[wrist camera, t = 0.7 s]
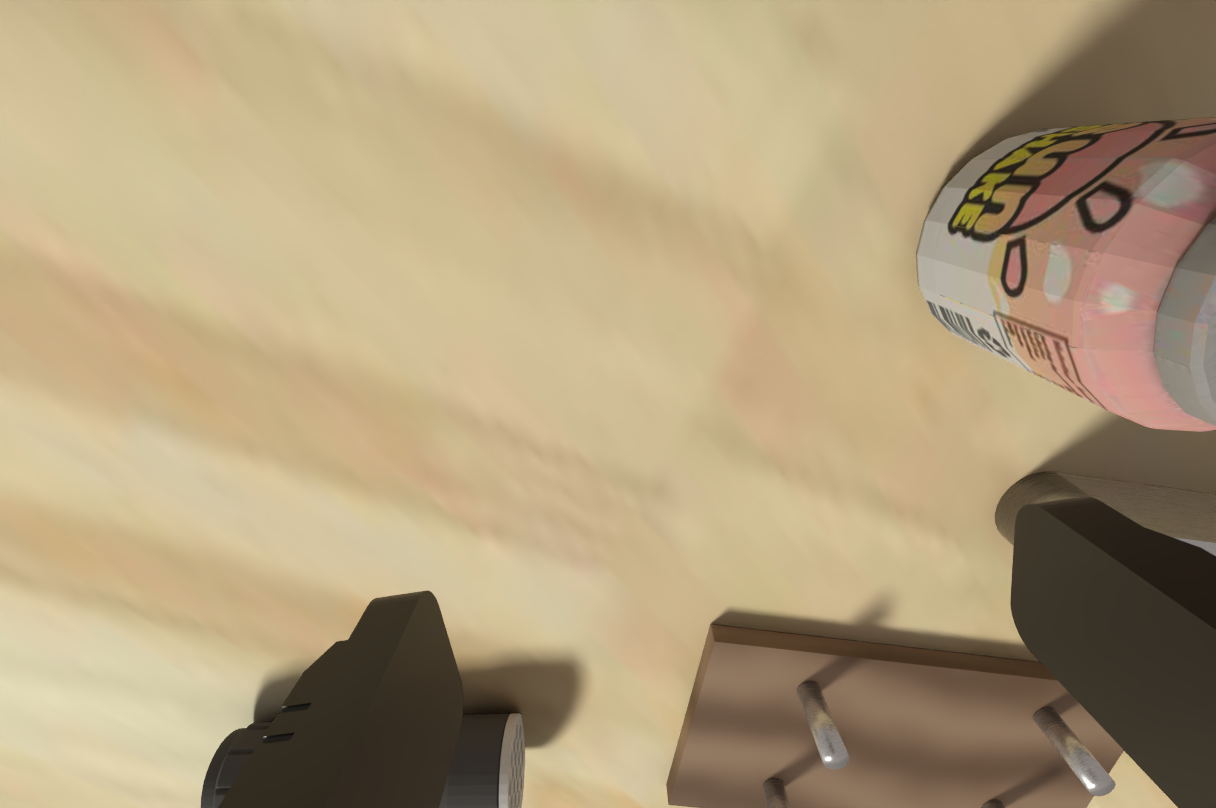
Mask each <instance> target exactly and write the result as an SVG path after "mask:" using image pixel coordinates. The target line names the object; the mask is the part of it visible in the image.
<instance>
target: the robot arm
mask: <svg viewBox="0 0 1216 808" xmlns="http://www.w3.org/2000/svg"><path fill="white" fill-rule="evenodd" d="M1011 611H1012V616H1013V619H1014V623H1015V625H1016V628H1017V630H1018V633H1019V635H1020V637H1021V638H1022V640H1023V642H1024V643H1025V645H1026V646H1027V648H1028V649H1029V650H1030V651H1031V653H1032V654H1033V655H1034V656H1035V657H1036V658H1037V659H1038V660H1039V661H1040V662H1041V663H1042V664H1043V665H1044V666H1045V668H1046V669H1047V670H1048V671H1049V672H1050V673H1051V674H1052V675H1053V676H1054V677H1055V678H1056V679H1057V680H1058V681H1059V682H1060V683H1061V684H1062V685H1063V687H1064V688H1065V689H1066V690H1067V691H1068V692H1069V693H1070V694H1071V695H1072V696H1073V697H1074V698H1075V699H1076V700H1077V701H1078V702H1079V703H1080V704H1081V706H1082V707H1083V708H1084V709H1085V710H1086V711H1087V712H1088V713H1089V714H1090V715H1091V716H1092V717H1093V718H1094V719H1095V720H1096V721H1097V722H1098V723H1099V724H1100V726H1101V727H1102V728H1103V729H1104V730H1105V731H1106V732H1107V733H1108V734H1109V735H1110V736H1111V737H1112V738H1113V739H1114V740H1115V741H1116V742H1117V743H1118V745H1119V746H1120V747H1121V748H1122V749H1123V750H1124V751H1125V752H1126V753H1127V754H1128V755H1129V756H1130V757H1131V758H1132V759H1133V760H1134V761H1135V762H1136V764H1137V765H1138V766H1139V767H1140V768H1141V769H1142V770H1143V771H1144V772H1145V773H1146V774H1147V775H1148V776H1149V777H1150V778H1151V779H1152V780H1153V781H1154V783H1155V784H1156V785H1157V786H1158V787H1159V788H1160V789H1161V790H1162V791H1163V792H1164V793H1165V794H1166V795H1167V796H1168V797H1169V798H1170V799H1171V800H1172V802H1173V803H1174V804H1175V805H1176V806H1177V807H1178V808H1216V556H1214V555H1213V554H1211V553H1209V552H1208V551H1206V550H1204V549H1202V548H1201V547H1198V546H1195V545H1192V544H1190V543H1187V542H1184V541H1181V540H1178V539H1176V538H1173V537H1170V536H1167V535H1165V534H1162V533H1159V532H1156V531H1153V530H1151V529H1148V528H1144V527H1143V526H1141V525H1139V524H1138V523H1136V522H1134V521H1133V520H1131V519H1130V518H1128V517H1126V516H1125V515H1123V514H1121V513H1120V512H1118V511H1116V510H1115V509H1113V508H1111V507H1110V506H1108V505H1106V504H1105V503H1103V502H1101V501H1100V500H1098V499H1096V498H1093V497H1088V496H1083V497H1076V498H1069V499H1062V500H1056V501H1049V502H1042V503H1035V504H1029V505H1025V506H1023V507H1022V508H1021V509H1020V510H1019V512H1018V513H1017V516H1016V521H1015V534H1014V551H1013V568H1012V586H1011ZM462 715H463V691H462V683H461V678H460V675H459V671H458V668H457V665H456V661H455V658H454V655H453V651H452V648H451V645H450V641H449V638H448V635H447V631H446V628H445V625H444V621H443V618H442V615H441V611H440V608H439V605H438V602H437V600H436V598H435V596H434V595H433V593H432V592H430V591H422V592H415V593H408V594H401V595H394V596H387V597H381V598H375V599H373V600H372V601H371V602H370V604H369V605H368V607H367V608H366V610H365V612H364V613H363V615H362V617H361V619H360V620H359V622H358V624H357V626H356V627H355V629H354V631H353V632H352V634H351V636H350V638H349V639H348V640H345V641H338V642H336V643H335V644H334V645H333V646H331V647H330V648H329V649H328V650H327V651H326V652H325V653H324V654H323V655H322V656H321V657H320V658H319V659H317V660H316V661H315V662H314V663H313V664H312V665H311V666H310V667H309V668H308V669H307V670H306V671H305V672H304V673H303V674H302V676H301V677H300V679H299V680H298V682H297V684H296V685H295V687H294V688H293V690H292V691H291V693H290V695H289V696H288V698H287V699H286V701H285V703H284V704H283V706H282V713H280V714H277V715H276V717H275V718H274V720H273V721H272V723H271V725H270V726H269V728H268V729H267V731H266V733H265V734H264V736H263V743H262V744H259V745H257V747H256V748H255V750H254V751H253V753H252V755H251V756H250V758H249V759H248V761H247V763H246V764H245V766H244V767H243V769H242V770H241V772H240V774H239V775H238V777H237V778H236V780H235V781H234V783H233V785H232V786H231V788H230V789H229V791H228V793H227V794H226V796H225V797H224V799H223V800H222V802H221V804H220V805H219V807H218V808H439V806H440V802H441V799H442V795H443V791H444V787H445V784H446V780H447V776H448V773H449V769H450V765H451V761H452V758H453V754H454V750H455V747H456V743H457V739H458V735H459V732H460V728H461V723H462Z"/></svg>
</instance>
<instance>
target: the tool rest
mask: <svg viewBox="0 0 1216 808" xmlns="http://www.w3.org/2000/svg"><path fill="white" fill-rule="evenodd" d="M1123 751H1124V750H1123V749H1122V748H1121V747H1120V746H1119V745H1118V743H1117V742H1116V741H1115V740H1114V739H1113V738H1112V737H1111V736H1110V735H1109V734H1108V733H1107V732H1106V731H1105V730H1104V729H1103V728H1102V727H1101V726H1100V724H1099V723H1098V722H1097V721H1096V720H1095V719H1094V718H1093V717H1092V716H1091V715H1090V714H1089V713H1088V712H1087V711H1086V710H1085V709H1084V708H1083V707H1082V706H1081V704H1080V703H1079V702H1078V701H1077V700H1076V699H1075V698H1074V697H1073V696H1072V695H1071V694H1070V693H1069V692H1068V691H1067V690H1066V689H1065V688H1064V687H1063V685H1062V684H1061V683H1060V682H1059V681H1058V680H1057V679H1056V678H1055V677H1054V676H1053V675H1052V674H1051V673H1050V672H1049V671H1048V670H1047V669H1046V668H1045V666H1044V665H1043V664H1042V663H1040V662H1031V661H1023V660H1014V659H1005V658H997V657H988V656H979V655H971V654H962V653H954V652H945V651H936V650H928V649H919V648H910V647H902V646H893V645H884V644H876V643H867V642H858V641H850V640H841V639H832V638H824V637H815V636H807V635H798V634H789V633H781V632H772V631H763V630H755V629H746V628H737V627H729V626H720V625H711V624H710V628H709V632H708V635H707V639H706V643H705V646H704V650H703V654H702V657H701V661H700V664H699V668H698V672H697V675H696V679H695V683H694V686H693V690H692V694H691V697H690V701H689V704H688V708H687V712H686V715H685V719H684V723H683V726H682V730H681V734H680V737H679V741H678V744H677V748H676V752H675V755H674V759H673V763H672V766H671V770H670V774H669V777H668V781H667V784H666V785H667V794H668V804H669V805H677V806H687V807H698V808H1086V807H1087V806H1088V804H1089V803H1090V801H1091V800H1092V798H1093V797H1094V796H1102V795H1106V794H1108V793H1110V792H1111V791H1112V790H1113V789H1114V787H1115V782H1114V780H1113V779H1112V778H1111V777H1110V776H1109V772H1110V771H1111V769H1112V768H1113V766H1114V765H1115V763H1116V762H1117V760H1118V759H1119V757H1120V756H1121V754H1122V753H1123Z"/></svg>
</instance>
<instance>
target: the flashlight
mask: <svg viewBox="0 0 1216 808" xmlns="http://www.w3.org/2000/svg"><path fill="white" fill-rule="evenodd" d="M271 723H272V722H256V723H253V724H251V725H249V726H248V727H247V728H242V729H238V730H235V731H234V732H232V733H231V734H230V735H228V736H227V737H226V739H225V740H224V741H223V742H222V743H221V745H220V746H219V748H218V749H217V751H216V753H215V755H214V757H213V759H212V761H211V763H210V765H209V768H208V771H207V773H206V777H205V780H204V785H203V790H202V797H201V808H218V807H219V805H220V804H221V802H222V800H223V799H224V797H225V796H226V794H227V793H228V791H229V789H230V788H231V786H232V785H233V783H234V781H235V780H236V778H237V777H238V775H239V774H240V772H241V770H242V769H243V767H244V766H245V764H246V763H247V761H248V759H249V758H250V756H251V755H252V753H253V751H254V750H255V748H256V747H257V745H259V744H262V743H263V736H264V734H265V733H266V731H267V729H268V728H269V726H270V725H271ZM524 768H525V739H524V730H523V722H522V716H521V714H520V713H511V714H471V715H463V716H462V723H461V728H460V732H459V735H458V739H457V743H456V747H455V750H454V754H453V758H452V761H451V765H450V769H449V773H448V776H447V780H446V784H445V787H444V791H443V795H442V799H441V802H440V806H439V808H521V806H522V798H523V788H524Z"/></svg>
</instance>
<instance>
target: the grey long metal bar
mask: <svg viewBox="0 0 1216 808" xmlns="http://www.w3.org/2000/svg"><path fill="white" fill-rule="evenodd" d="M1083 496H1088V497H1093V498H1096V499H1098V500H1100V501H1101V502H1103V503H1105V504H1106V505H1108V506H1110V507H1111V508H1113V509H1115V510H1116V511H1118V512H1120V513H1121V514H1123V515H1125V516H1126V517H1128V518H1130V519H1131V520H1133V521H1134V522H1136V523H1138V524H1139V525H1141V526H1143V527H1144V528H1148V529H1151V530H1153V531H1156V532H1159V533H1162V534H1165V535H1167V536H1170V537H1173V538H1176V539H1178V540H1181V541H1184V542H1187V543H1190V544H1192V545H1195V546H1198V547H1201V548H1202V549H1204V550H1206V551H1208V552H1209V553H1211V554H1213V555H1214V556H1216V494H1210V493H1202V492H1195V491H1188V490H1181V489H1174V488H1166V487H1159V486H1152V485H1145V484H1138V483H1130V482H1123V481H1116V480H1109V479H1102V478H1094V477H1087V476H1080V475H1073V474H1066V473H1058V472H1041V473H1036V474H1033V475H1030V476H1027V477H1025V478H1023V479H1021V480H1020V481H1018V482H1016V483H1015V484H1014V485H1013V486H1011V487H1010V488H1009V489H1008V490H1007V491H1006V492H1005V494H1004V495H1003V496H1002V498H1001V499H1000V501H999V503H998V505H997V508H996V512H995V523H996V526H997V529H998V531H999V532H1000V533H1001V534H1002V535H1003V536H1004V537H1005V538H1006V539H1007V540H1008V541H1009V542H1010V543H1011V544H1012V545H1013V546H1014V534H1015V521H1016V516H1017V513H1018V512H1019V510H1020V509H1021V508H1022V507H1023V506H1025V505H1029V504H1035V503H1042V502H1049V501H1056V500H1062V499H1069V498H1076V497H1083Z"/></svg>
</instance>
